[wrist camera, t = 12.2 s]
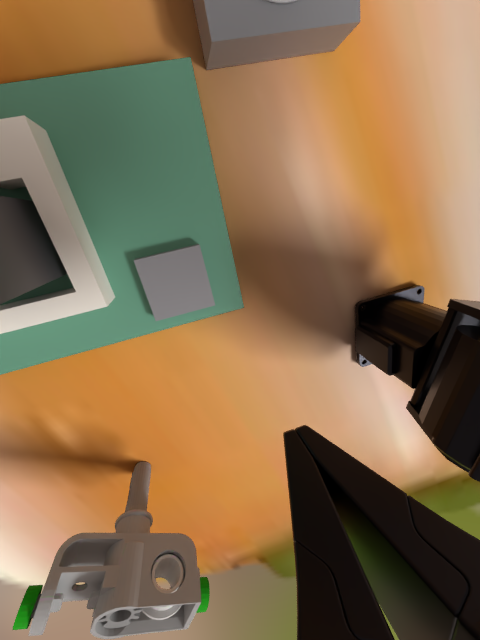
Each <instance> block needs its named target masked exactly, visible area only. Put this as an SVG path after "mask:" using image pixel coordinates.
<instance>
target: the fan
mask: <svg viewBox="0 0 480 640" xmlns="http://www.w3.org/2000/svg"><path fill="white" fill-rule="evenodd" d="M193 4H194V9H195V14H196V19H197V24H198V29H199V34H200V39H201V44H202V49H203V54H204V60H205V65H206V70H210V69H217V68H224V67H230V66H237V65H244V64H250V63H257V62H264V61H270V60H277V59H284V58H290V57H297V56H304V55H310V54H317V53H324V52H330V51H334V50H335V49H336V48H337V47H338V46H339V45H340V44H341V42H342V41H343V40H344V39H345V38H346V37H347V36H348V35H349V34H350V33H351V31H352V30H353V29H354V28H355V27H356V26H357V25H358V24H359V23H360V0H193Z"/></svg>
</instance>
